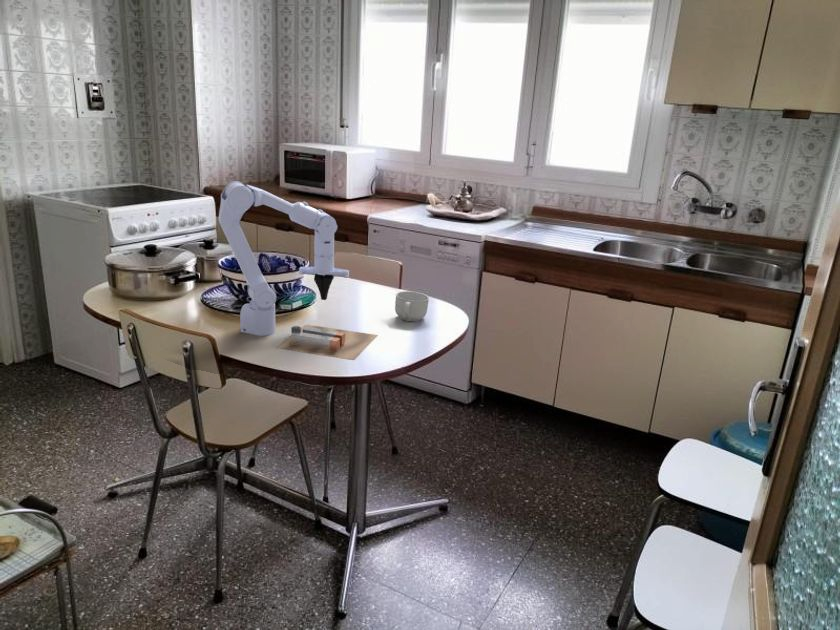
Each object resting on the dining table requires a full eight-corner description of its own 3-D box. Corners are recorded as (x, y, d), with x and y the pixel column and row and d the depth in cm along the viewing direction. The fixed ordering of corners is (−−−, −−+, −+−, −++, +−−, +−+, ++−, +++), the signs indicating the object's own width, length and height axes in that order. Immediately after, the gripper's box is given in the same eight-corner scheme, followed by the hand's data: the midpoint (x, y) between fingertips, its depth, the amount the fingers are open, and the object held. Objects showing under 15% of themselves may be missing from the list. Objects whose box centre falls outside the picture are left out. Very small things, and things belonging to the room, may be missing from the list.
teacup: (402, 311, 207) (403, 288, 204) (432, 316, 203) (434, 293, 201) (385, 323, 195) (386, 299, 192) (416, 329, 191) (418, 304, 188)
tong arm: (302, 339, 174) (302, 329, 173) (306, 336, 176) (306, 326, 175) (341, 345, 171) (341, 335, 170) (345, 342, 173) (345, 332, 172)
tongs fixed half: (286, 343, 171) (286, 330, 170) (294, 338, 175) (293, 325, 174) (336, 351, 168) (336, 338, 167) (342, 345, 172) (342, 332, 171)
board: (274, 351, 168) (274, 347, 168) (306, 328, 187) (306, 324, 186) (354, 364, 163) (354, 360, 163) (377, 338, 182) (378, 335, 181)
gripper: (296, 256, 177) (296, 301, 181) (346, 259, 176) (345, 304, 180) (302, 250, 183) (302, 294, 188) (350, 254, 182) (349, 297, 187)
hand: (324, 298), depth 184 cm, fingers closed
